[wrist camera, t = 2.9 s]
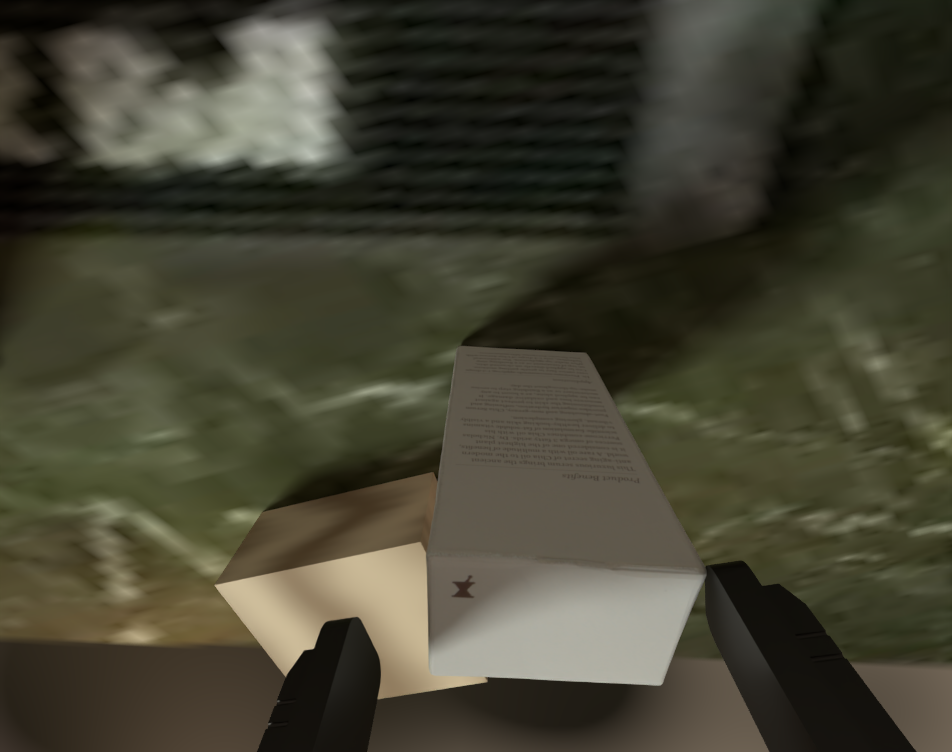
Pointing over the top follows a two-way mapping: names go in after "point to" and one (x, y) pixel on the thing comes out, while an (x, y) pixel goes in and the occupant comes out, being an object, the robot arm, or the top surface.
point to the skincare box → (550, 531)
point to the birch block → (343, 578)
